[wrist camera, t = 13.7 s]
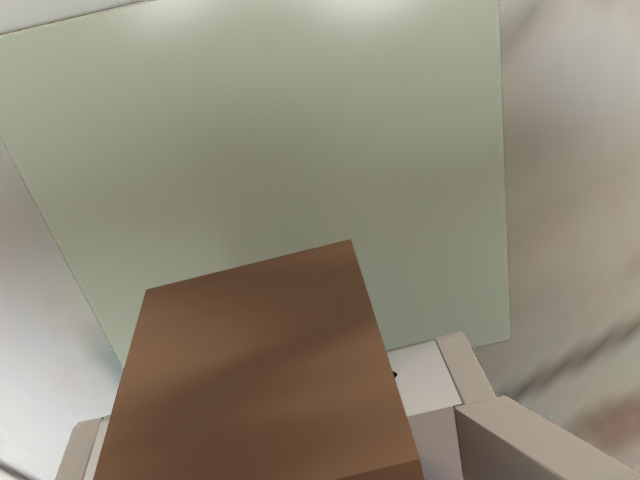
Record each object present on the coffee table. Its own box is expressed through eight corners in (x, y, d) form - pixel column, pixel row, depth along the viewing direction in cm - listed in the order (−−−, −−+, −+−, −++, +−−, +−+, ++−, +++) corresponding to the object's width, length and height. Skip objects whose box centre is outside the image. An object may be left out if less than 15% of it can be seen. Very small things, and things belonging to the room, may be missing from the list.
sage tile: (485, -81, 12) (495, -81, 12) (503, 327, 19) (510, 339, 18) (-34, 43, 13) (-47, 48, 12) (152, 405, 19) (149, 419, 18)
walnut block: (350, 238, 11) (420, 459, 6) (384, 387, 13) (453, 631, 8) (146, 289, 11) (75, 541, 6) (211, 430, 13) (191, 694, 8)
